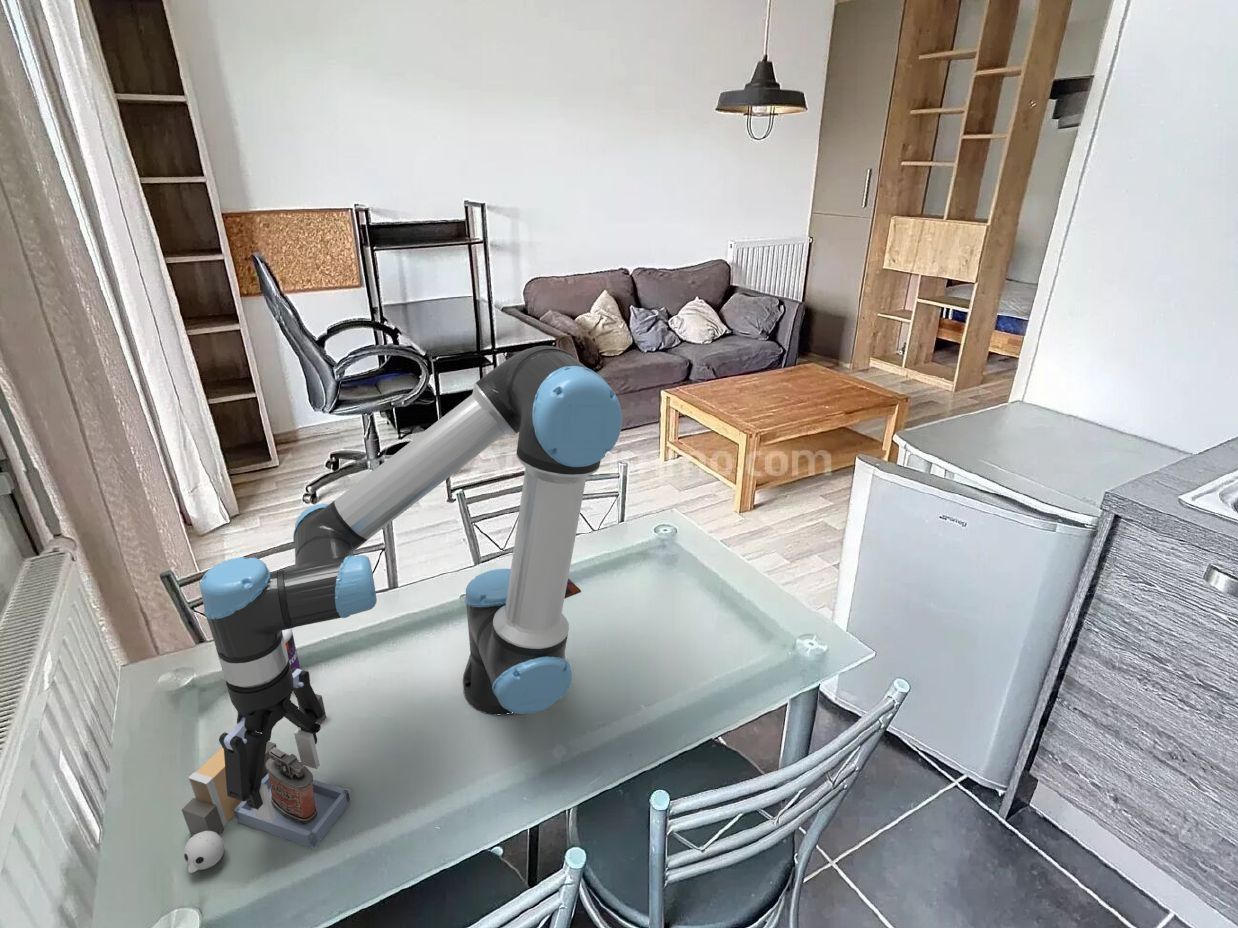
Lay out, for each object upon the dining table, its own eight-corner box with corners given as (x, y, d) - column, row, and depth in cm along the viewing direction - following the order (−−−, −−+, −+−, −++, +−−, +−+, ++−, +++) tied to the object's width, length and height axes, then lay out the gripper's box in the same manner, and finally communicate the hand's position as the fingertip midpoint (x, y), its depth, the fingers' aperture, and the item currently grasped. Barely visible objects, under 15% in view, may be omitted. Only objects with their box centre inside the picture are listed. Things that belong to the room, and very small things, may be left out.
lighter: (323, 811, 100) (317, 760, 96) (303, 828, 97) (297, 777, 93) (285, 787, 103) (278, 737, 99) (265, 803, 100) (257, 752, 96)
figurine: (177, 877, 91) (167, 853, 89) (203, 843, 95) (195, 819, 93) (210, 884, 90) (201, 860, 88) (235, 849, 95) (227, 825, 92)
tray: (350, 801, 102) (348, 790, 101) (314, 848, 95) (311, 837, 94) (276, 777, 105) (273, 766, 104) (237, 821, 98) (233, 810, 97)
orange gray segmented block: (326, 717, 116) (317, 676, 112) (212, 841, 96) (197, 796, 92) (306, 711, 117) (297, 670, 113) (190, 833, 97) (173, 788, 93)
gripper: (291, 614, 99) (317, 728, 108) (163, 721, 80) (208, 847, 90) (335, 625, 97) (357, 740, 106) (214, 737, 78) (254, 864, 88)
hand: (289, 789), depth 98 cm, fingers open, 8 cm apart
